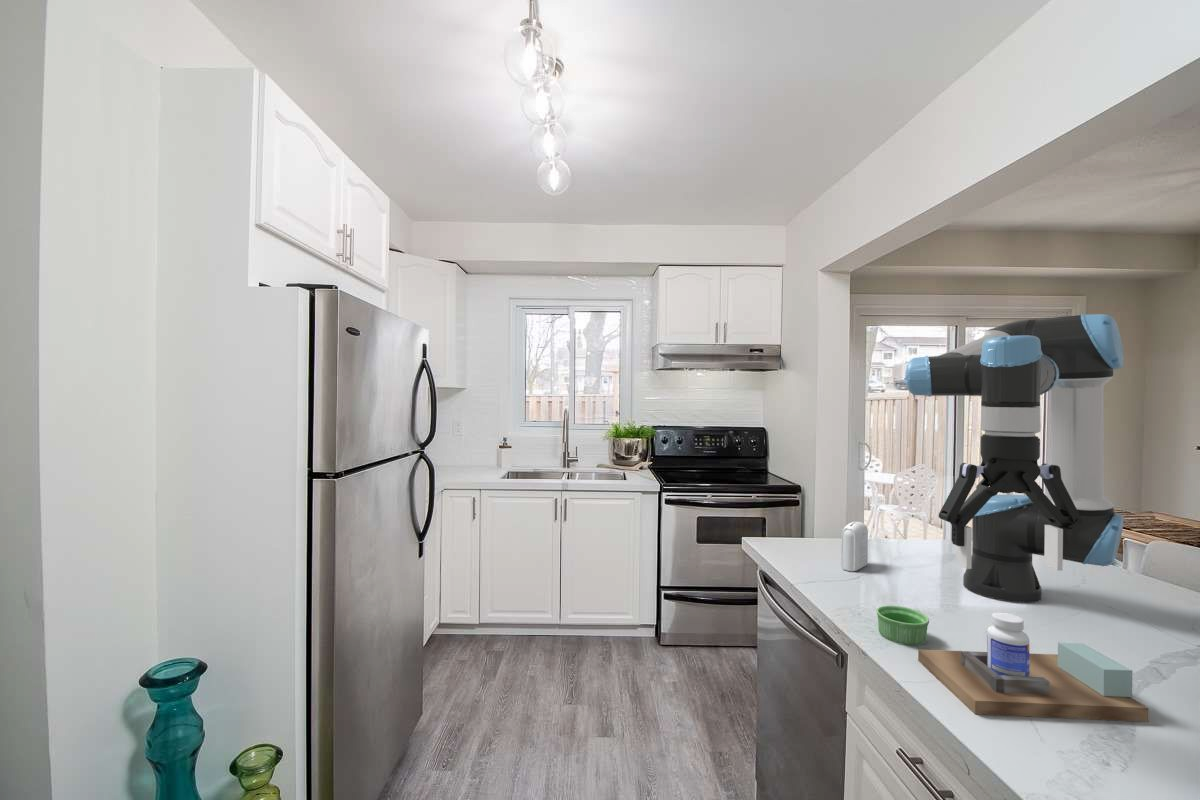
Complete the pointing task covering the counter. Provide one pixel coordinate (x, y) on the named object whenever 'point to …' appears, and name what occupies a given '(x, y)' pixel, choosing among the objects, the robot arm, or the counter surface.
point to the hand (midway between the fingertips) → (1008, 567)
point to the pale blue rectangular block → (1095, 669)
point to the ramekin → (902, 625)
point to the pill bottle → (1008, 646)
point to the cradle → (1025, 689)
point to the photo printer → (854, 546)
